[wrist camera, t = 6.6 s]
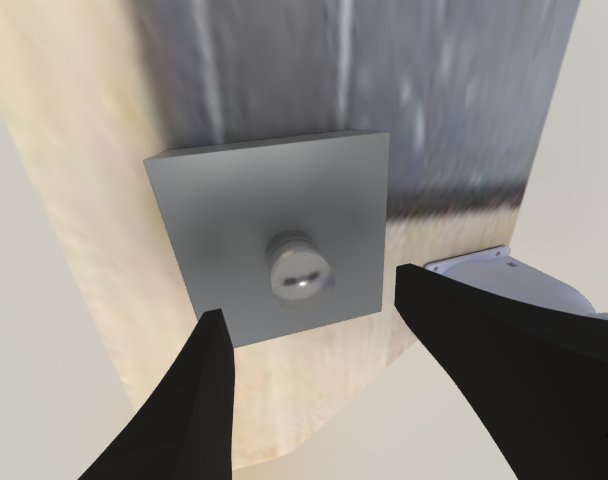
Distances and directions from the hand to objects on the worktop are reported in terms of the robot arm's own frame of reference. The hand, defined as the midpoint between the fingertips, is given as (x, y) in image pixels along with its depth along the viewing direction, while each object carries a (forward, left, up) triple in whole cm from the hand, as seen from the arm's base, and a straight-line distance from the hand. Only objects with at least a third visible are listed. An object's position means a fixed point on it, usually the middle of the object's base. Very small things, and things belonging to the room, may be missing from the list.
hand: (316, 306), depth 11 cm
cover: (0, 0, -10) cm, 10 cm away
